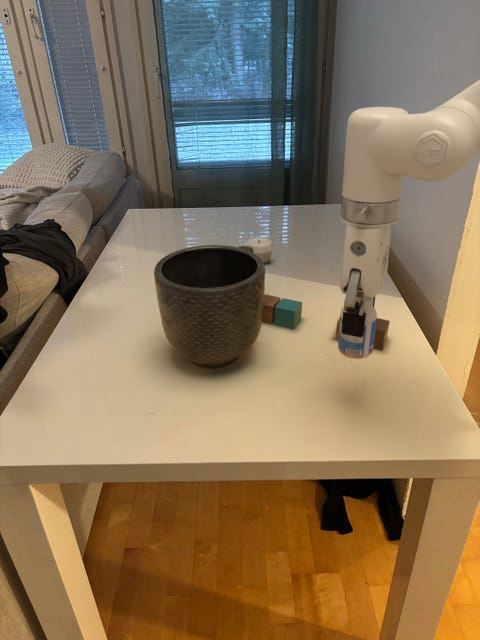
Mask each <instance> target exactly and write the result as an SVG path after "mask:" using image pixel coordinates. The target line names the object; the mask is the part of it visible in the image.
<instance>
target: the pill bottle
mask: <svg viewBox="0 0 480 640" xmlns="http://www.w3.org/2000/svg"><path fill="white" fill-rule="evenodd" d="M358 292H363V290H358ZM356 300H357V301H356V302H359V304H360V303H361V297H356ZM343 309H344V305H343V306H342V307H341V309H340V313H339V317H340V326H339V340H338V344H337V345H338V346H337V347H338V351H339V353H340V354H341V355H343V356H344V357H345V358H348V359H352V360H353V359H354V360H362V359H366V358H369V357H370V356H371V355H372V354H373V351H374V349H373V346H374V337H375V328H376V319H377V318H378V311H377V310H376V308H375V306H374V307H373V298H370V297H367V298H366V303H365V309H364V313H366V319H365V328H364V335H363V337H361V338H360V337H355V336H350V335H345V334H342V332H341V331H342V319H343Z"/></svg>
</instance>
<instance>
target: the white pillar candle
mask: <svg viewBox="0 0 480 640" xmlns="http://www.w3.org/2000/svg"><path fill="white" fill-rule="evenodd" d="M245 246H248V247H251V248H253V250H254V254H256V255H257V256H259V257H260V258H261V259H262V261H263V263H264V264H266V263H268V262H269V260H270V258H271V256H272V253H273V249H274V244H273V241H272V240H270V239H269V238H267V237H253V238H250V239H247V241H246V245H245Z"/></svg>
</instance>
